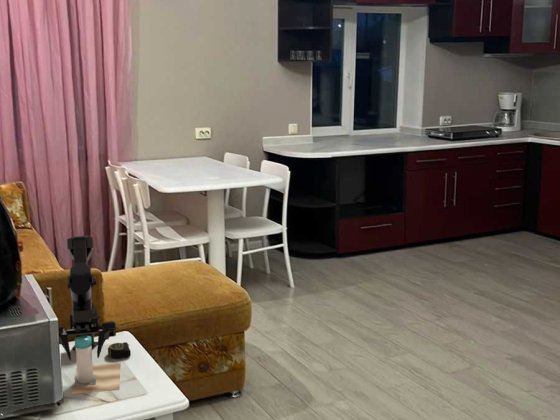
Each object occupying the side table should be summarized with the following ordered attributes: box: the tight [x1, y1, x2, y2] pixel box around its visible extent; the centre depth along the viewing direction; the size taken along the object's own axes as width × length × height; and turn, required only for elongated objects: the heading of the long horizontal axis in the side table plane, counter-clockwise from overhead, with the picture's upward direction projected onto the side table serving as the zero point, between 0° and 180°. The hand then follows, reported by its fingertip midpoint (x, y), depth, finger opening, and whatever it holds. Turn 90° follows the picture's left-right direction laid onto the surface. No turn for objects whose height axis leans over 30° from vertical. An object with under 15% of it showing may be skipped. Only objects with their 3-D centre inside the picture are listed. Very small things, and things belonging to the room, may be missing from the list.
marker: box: [74, 335, 94, 384], centre depth 197 cm, size 5×5×13 cm
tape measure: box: [107, 341, 132, 360], centre depth 216 cm, size 7×7×4 cm
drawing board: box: [71, 362, 122, 395], centre depth 200 cm, size 18×13×1 cm
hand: (84, 359), depth 195 cm, fingers open, 7 cm apart
